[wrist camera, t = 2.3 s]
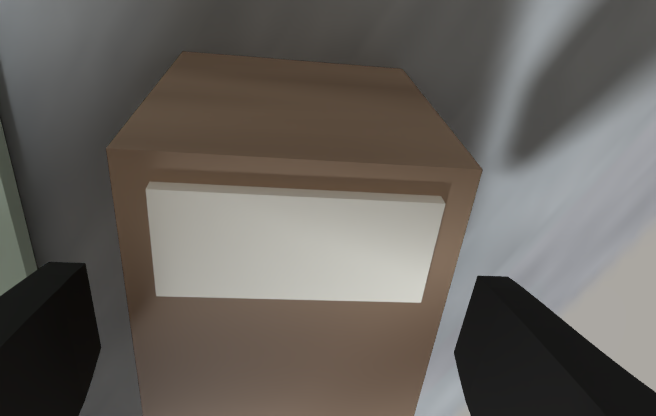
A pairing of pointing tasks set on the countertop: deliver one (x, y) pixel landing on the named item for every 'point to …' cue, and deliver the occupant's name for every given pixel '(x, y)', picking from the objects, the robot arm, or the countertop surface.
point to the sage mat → (12, 227)
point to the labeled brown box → (286, 236)
